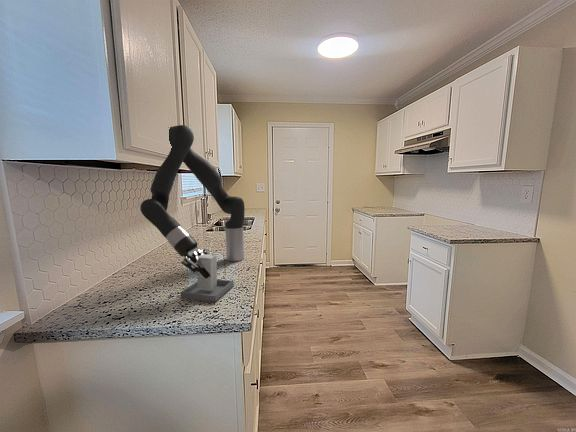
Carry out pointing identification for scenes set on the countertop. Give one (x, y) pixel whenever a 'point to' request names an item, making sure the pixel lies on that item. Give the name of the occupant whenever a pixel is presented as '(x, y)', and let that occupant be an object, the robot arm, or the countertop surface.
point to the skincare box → (211, 266)
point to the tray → (207, 291)
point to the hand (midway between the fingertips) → (211, 274)
